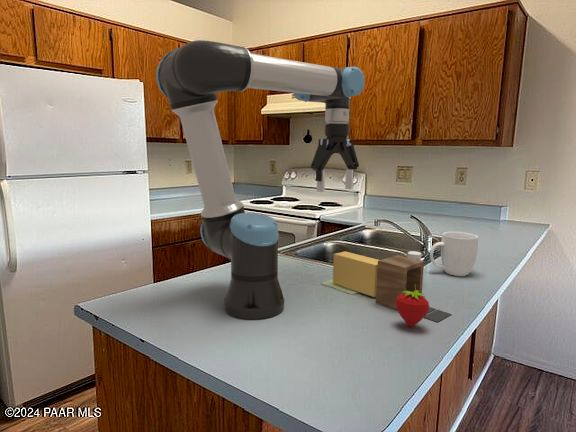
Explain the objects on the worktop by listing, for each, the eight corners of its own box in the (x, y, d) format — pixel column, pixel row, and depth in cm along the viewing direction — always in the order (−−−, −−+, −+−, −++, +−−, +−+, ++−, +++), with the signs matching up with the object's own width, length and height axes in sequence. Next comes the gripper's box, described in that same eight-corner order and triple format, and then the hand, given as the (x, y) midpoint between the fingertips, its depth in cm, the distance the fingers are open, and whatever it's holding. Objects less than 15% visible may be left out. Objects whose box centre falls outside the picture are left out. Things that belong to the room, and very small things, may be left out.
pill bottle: (409, 279, 125) (411, 249, 124) (425, 284, 122) (427, 252, 120) (400, 283, 122) (402, 252, 120) (416, 288, 118) (418, 256, 116)
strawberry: (397, 318, 96) (400, 278, 95) (430, 325, 93) (433, 284, 91) (390, 327, 91) (393, 285, 90) (424, 335, 88) (427, 291, 86)
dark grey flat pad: (437, 322, 94) (437, 321, 94) (407, 312, 100) (407, 311, 100) (451, 314, 99) (451, 314, 99) (421, 305, 105) (421, 304, 105)
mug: (435, 278, 127) (438, 238, 125) (422, 268, 138) (425, 231, 136) (481, 278, 127) (485, 238, 125) (465, 268, 138) (468, 231, 136)
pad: (352, 294, 112) (352, 293, 112) (320, 283, 121) (320, 282, 121) (371, 287, 118) (371, 286, 118) (340, 277, 127) (340, 277, 127)
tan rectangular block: (374, 297, 109) (375, 265, 107) (332, 283, 120) (333, 253, 118) (384, 293, 112) (386, 261, 110) (343, 279, 123) (344, 251, 121)
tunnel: (402, 312, 100) (404, 267, 98) (375, 302, 106) (377, 260, 104) (421, 303, 106) (424, 261, 104) (395, 295, 112) (397, 255, 110)
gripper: (317, 121, 116) (316, 193, 119) (371, 124, 132) (368, 188, 135) (299, 122, 121) (299, 191, 125) (353, 125, 137) (351, 187, 141)
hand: (335, 190), depth 130 cm, fingers open, 13 cm apart
